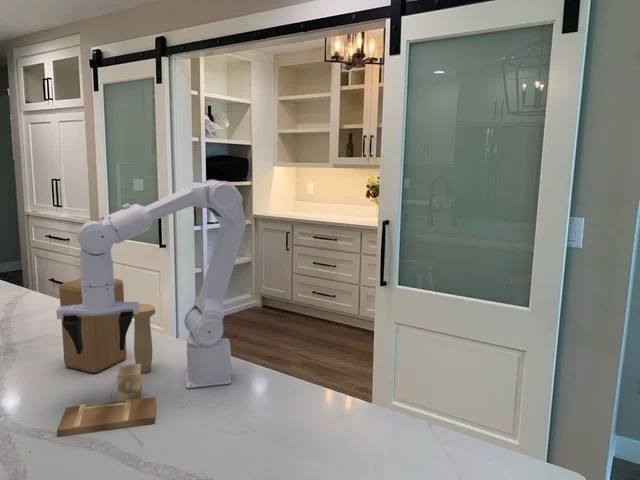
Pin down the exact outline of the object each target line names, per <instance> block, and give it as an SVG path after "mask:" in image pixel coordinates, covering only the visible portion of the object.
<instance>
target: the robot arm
mask: <svg viewBox="0 0 640 480" xmlns="http://www.w3.org/2000/svg"><path fill="white" fill-rule="evenodd" d="M243 199H244V197H243V196H242V194H241V192H240V191H239V190H238V188H237V187H236V186H235V185H234V184H233V183H232V182H230V181H225V180H222V181H220V180H217V179H208V180H205V181H204V182H199V183H194V184H191V185H189V186H187V187H184V188H182V189H180V190H178V191H176V192H174V193H172V194H169V195H167V196H165V197H163V198H161V199H159V200H157V201H154V202H153V203H150V204H148V205H145V206H143V205H140V204H138V203H135V204H132V205H131V204H130V203H126V204H123V205H122V206H121V207H122V209H120V210H118V211H115V212H113V213H110V214H108V215H105V216H104V214H101V215H99V216H98V220H99V221H98V220H97V221H96V220H90V221H88V222H85V223H83V225H81V227H80V228H79V230H78V233H77V236H76V239H77V242H78V244H79V245H80V251H79V258H80V260H79V261H80V262H79V269H80V270H79V272H80V279H81V287H82V304H77V305H70V306H58V307H57V308H56V320H61V319H64V320H63V323H62V322H61V325H62V324H63V327H64V328H65V329H66V331H67V332H68V333H69V335H70V337H71V338H72V340H73V343H74V345H75V348H76V351H77V354H81V353H82V351H83V343H82V335H81V317H82V316H97V315H112V314H120V316H119V319H118V320H119V330H120V350H124V347H125V338H127V337H126V336H127V333H128V331H129V328H130V325H131V323H132V320H133V319H134V317H133V314H139V304H140V302H139V301H124V302H116V301H115V297H114V279H115V278H114V261H113V259H112V248H113V246H114V244H121V243H122V242H125V241H127V240H129V239H132V238H134V237H136V236H138V235H140V234H143V233H145V232H147V231H149V230H150V228H151V225H152V223H153V222H154V221H157V220H159V219H161V218H164V217H167V216H169V215H172V214H174V213H177V212H179V211H182V210H184V209H187V208H189V207H193V208H194V207H195V208H202V209H206V210H208V211H210V213H212V215H213V216H214V218H215V220H216V221H217V223H218V225H219V227H220V228H219V231H218V234H217V238H216V240H215V244H214V246H213V250H212V253H211V256H210V261H209V263H208V266H207V270H206V273H205V277H204V280H203V284H202V286H201V290H200V293H199V295H198V296H197V297H196V298H195V299H194V301H193V304H192V306H191V308H190V309H189V310H188V311H187V313H186V314H185V316H184V320H183V322H184V326H185V328H186V329H187V331H189V333H188V336H187V338H186V354H187V355H186V364H187V365H186V366H187V367H186V368H187V370H186V371H185V373H184V374H185V376H184V377H185V387H186V389H193V388H195V389H196V388H202V387H204V388H205V387H211V386H220V385H229V384H231V383H232V351H231V343H230V339H229V338H222V336H223V335H224V323H223V321H224V317H225V308H224V301H225V297H226V293H227V290H228V287H229V283H230V281H231V276H232V273H233V270H234V267H235V264H236V261H237V258H238V253H239V250H240V247H241V244H242V241H243V238H244V235H245V231H246V228H247V221H246V216H245V212H244V207H243V206H244V205H243Z"/></svg>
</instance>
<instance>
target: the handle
mask: <svg viewBox="0 0 640 480" xmlns="http://www.w3.org/2000/svg"><path fill="white" fill-rule="evenodd" d="M155 314H156V307H155V306H154V305H152V304H149V303H148V304H147V303H139V314H133V319H134V330H133V331H134V332H133V333H134V334H133V339H134V340H133V350H134V351H133V352H134V361H135V364H141V373H145V374H146V373H148V372H150V371H151V370H152V362H153V339H152V327H151V317H153V316H154V315H155Z"/></svg>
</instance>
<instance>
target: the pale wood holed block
mask: <svg viewBox="0 0 640 480" xmlns="http://www.w3.org/2000/svg"><path fill="white" fill-rule="evenodd" d="M116 375H117V377H116V378H117V379H116V382H117V395H118V396H117V397H118V398H117V400H118V401H125V400H126V399H131V400H133V399H141V397H142V390H143V389H142V372H141V364H136V363H134V364H125V365H119V368H118V372H117V374H116Z"/></svg>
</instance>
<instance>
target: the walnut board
mask: <svg viewBox="0 0 640 480" xmlns="http://www.w3.org/2000/svg"><path fill="white" fill-rule="evenodd" d="M156 397H157V396H150V397H142V398H141V399H133V400H131V399H126V400H125V401H119V400H118V401H109V402H108V401H107V402H101V403H93V404H87V403H85V404H83V403H82V404H80V405H75V406H67V407H66V408H65V410H64V412H63V415H62V416H61V419H60V422H59V424H58V427H57V429H56V437H63V436H65V437H66V436H70V435H71V436H72V435H79V434H85V433H86V434H88V433H94V432H101V431H109V430H116V429H123V428H124V429H125V428H130V427H132V428H133V427H139V426H147V425H154V424H155V423H156V420H155V419H156V409H157V408H156V406H157V398H156Z"/></svg>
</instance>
